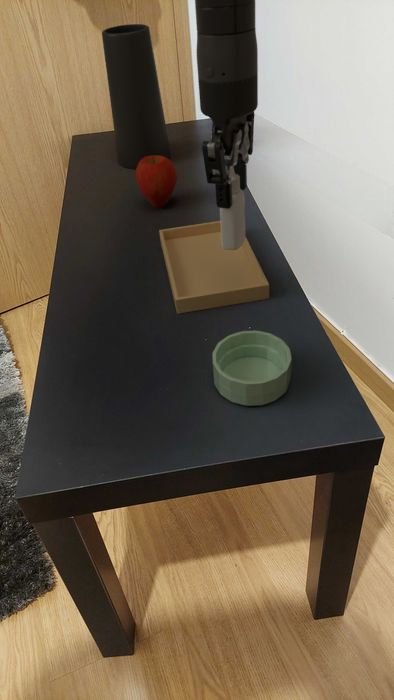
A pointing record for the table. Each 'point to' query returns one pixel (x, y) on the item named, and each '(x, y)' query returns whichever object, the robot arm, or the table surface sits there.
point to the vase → (134, 94)
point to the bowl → (252, 367)
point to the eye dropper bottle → (233, 218)
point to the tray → (210, 269)
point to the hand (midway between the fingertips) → (232, 197)
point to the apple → (156, 179)
